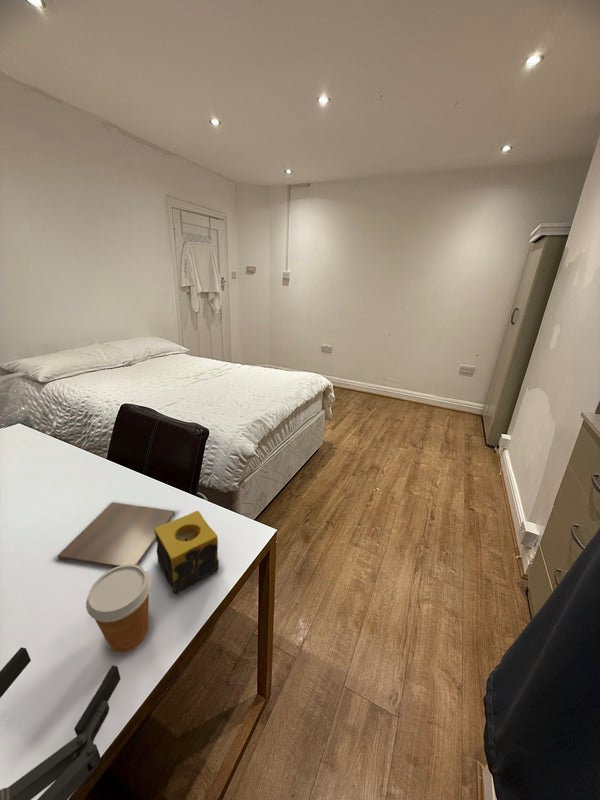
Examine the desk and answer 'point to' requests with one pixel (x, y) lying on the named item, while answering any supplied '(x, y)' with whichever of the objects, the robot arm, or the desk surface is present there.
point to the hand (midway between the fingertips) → (70, 662)
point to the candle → (186, 551)
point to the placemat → (117, 536)
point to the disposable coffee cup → (121, 606)
